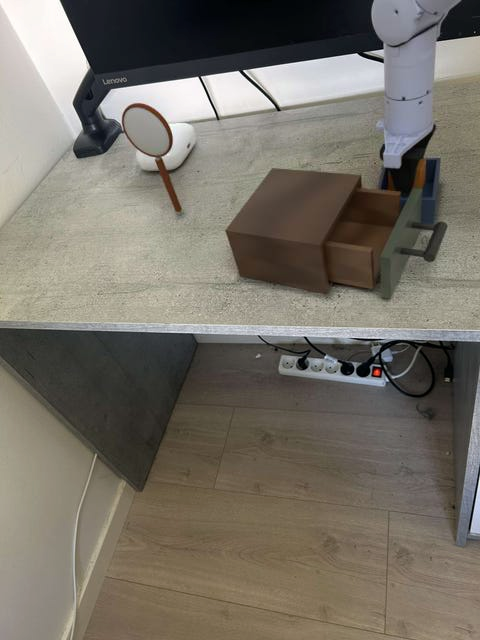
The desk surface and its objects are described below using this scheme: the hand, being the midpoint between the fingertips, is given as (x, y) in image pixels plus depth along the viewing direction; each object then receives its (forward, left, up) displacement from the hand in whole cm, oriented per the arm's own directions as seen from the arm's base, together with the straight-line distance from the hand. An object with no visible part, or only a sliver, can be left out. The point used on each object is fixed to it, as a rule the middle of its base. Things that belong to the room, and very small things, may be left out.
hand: (407, 183), depth 70 cm
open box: (0, 0, -4) cm, 4 cm away
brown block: (0, 0, -1) cm, 1 cm away
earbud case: (+42, -27, -4) cm, 50 cm away
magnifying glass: (+37, -7, -4) cm, 38 cm away
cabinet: (+16, +7, -4) cm, 18 cm away
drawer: (+6, +11, -3) cm, 13 cm away
